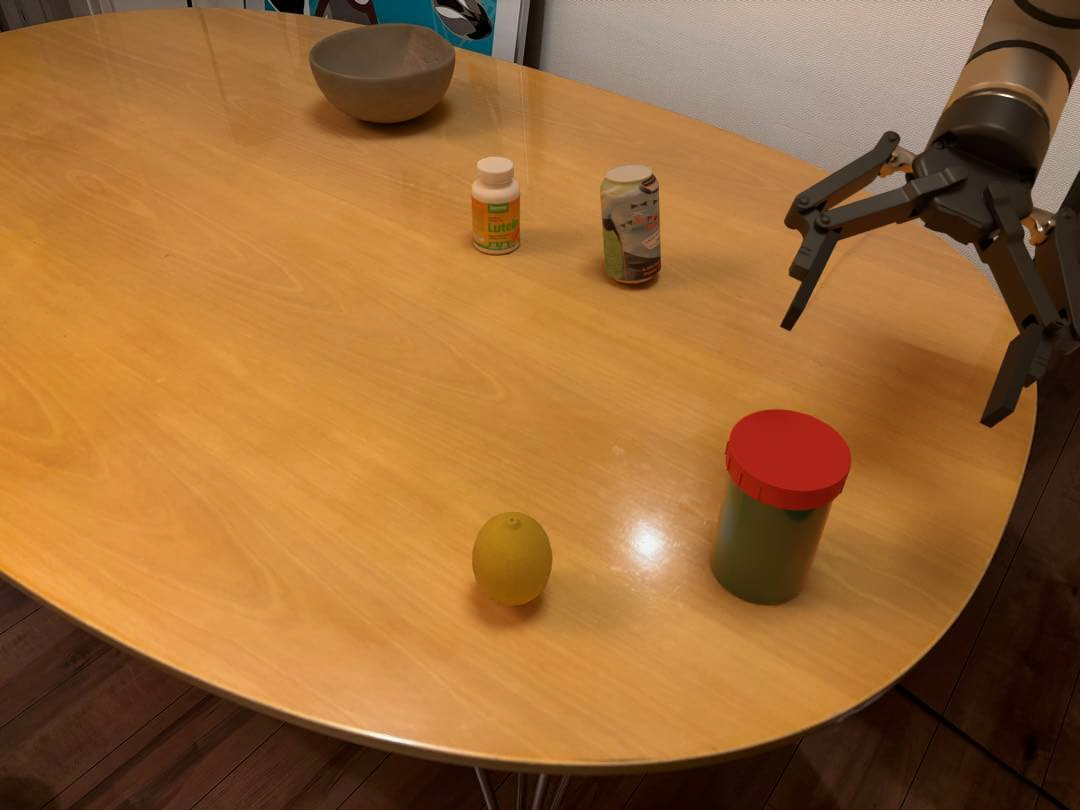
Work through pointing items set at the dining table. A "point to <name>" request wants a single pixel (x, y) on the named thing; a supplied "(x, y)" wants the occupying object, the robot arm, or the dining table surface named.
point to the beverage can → (631, 223)
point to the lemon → (512, 558)
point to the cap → (787, 459)
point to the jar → (764, 547)
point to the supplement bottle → (495, 206)
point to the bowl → (383, 71)
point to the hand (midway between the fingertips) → (891, 367)
